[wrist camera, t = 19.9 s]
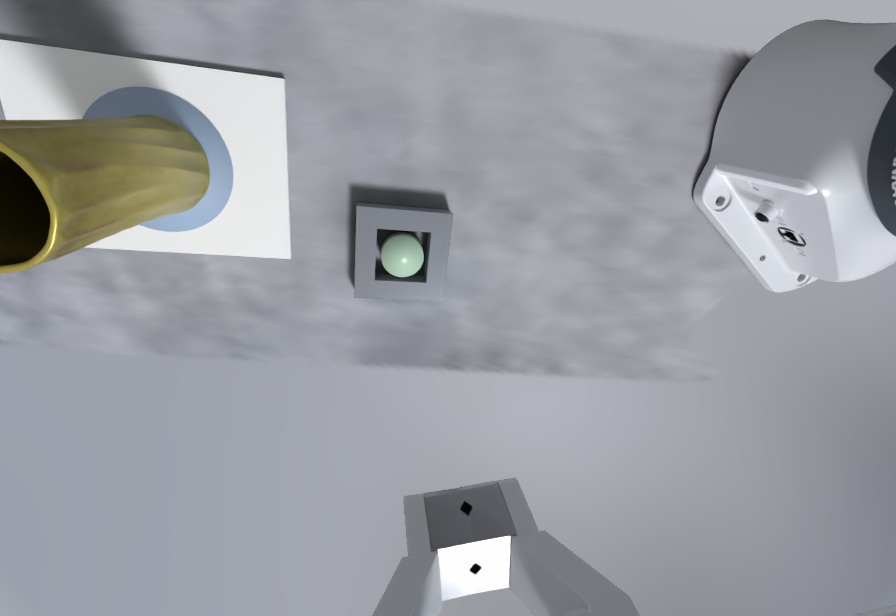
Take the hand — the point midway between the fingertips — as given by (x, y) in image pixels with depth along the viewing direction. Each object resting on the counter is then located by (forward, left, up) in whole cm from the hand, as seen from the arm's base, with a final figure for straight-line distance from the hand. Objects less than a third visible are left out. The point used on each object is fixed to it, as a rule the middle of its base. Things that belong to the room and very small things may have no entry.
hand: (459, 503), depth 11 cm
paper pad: (+15, +8, -24) cm, 29 cm away
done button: (0, 0, -25) cm, 25 cm away
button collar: (0, 0, -24) cm, 24 cm away
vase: (+15, +8, -24) cm, 29 cm away
